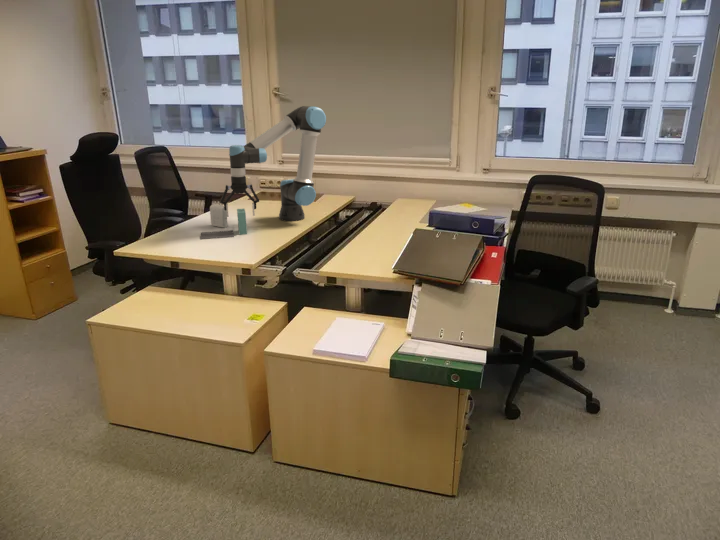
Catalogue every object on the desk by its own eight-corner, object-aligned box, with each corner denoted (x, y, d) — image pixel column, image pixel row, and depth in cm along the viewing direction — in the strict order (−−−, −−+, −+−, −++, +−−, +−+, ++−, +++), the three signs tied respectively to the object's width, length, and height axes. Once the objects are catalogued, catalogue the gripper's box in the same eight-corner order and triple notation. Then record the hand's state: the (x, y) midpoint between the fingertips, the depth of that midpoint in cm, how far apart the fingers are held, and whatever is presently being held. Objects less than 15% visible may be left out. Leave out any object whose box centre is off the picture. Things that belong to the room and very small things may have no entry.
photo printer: (229, 226, 297) (227, 204, 293) (223, 228, 293) (221, 206, 289) (215, 224, 302) (213, 202, 298) (210, 225, 298) (208, 204, 294)
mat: (233, 230, 288) (233, 230, 288) (233, 236, 276) (233, 236, 276) (200, 232, 284) (200, 232, 284) (200, 239, 272) (200, 238, 272)
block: (246, 230, 290) (244, 208, 286) (247, 234, 281) (245, 212, 277) (238, 230, 289) (236, 208, 285) (239, 234, 280) (237, 212, 276)
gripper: (261, 174, 281) (263, 213, 288) (213, 175, 275) (216, 215, 282) (263, 176, 274) (265, 216, 281) (213, 177, 268) (216, 218, 275)
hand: (240, 215), depth 282 cm, fingers open, 13 cm apart
